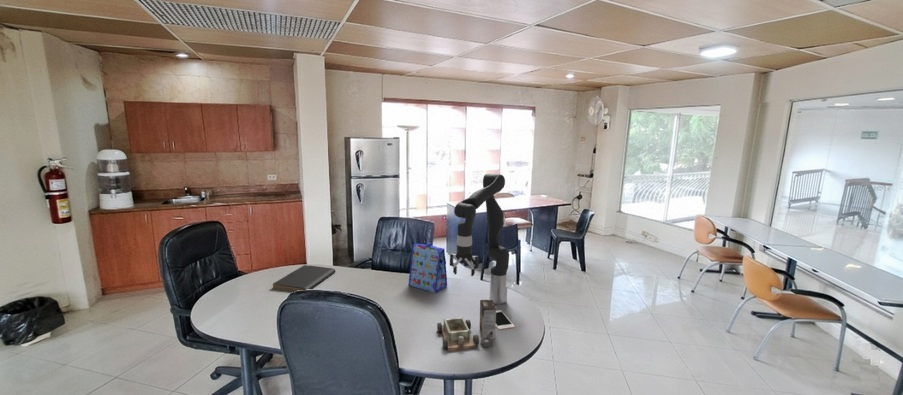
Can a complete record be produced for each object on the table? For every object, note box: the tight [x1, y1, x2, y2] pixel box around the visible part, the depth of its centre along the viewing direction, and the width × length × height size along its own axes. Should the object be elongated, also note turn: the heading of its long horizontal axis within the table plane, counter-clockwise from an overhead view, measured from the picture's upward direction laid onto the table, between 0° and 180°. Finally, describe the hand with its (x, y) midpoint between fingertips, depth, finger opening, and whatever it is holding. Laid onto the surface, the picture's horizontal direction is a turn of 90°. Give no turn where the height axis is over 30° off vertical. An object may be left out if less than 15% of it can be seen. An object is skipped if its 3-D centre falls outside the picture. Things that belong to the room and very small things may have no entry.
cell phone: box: [495, 309, 516, 331], centre depth 194 cm, size 9×18×1 cm, turn 15°
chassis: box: [436, 317, 480, 352], centre depth 176 cm, size 16×20×6 cm
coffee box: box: [479, 299, 497, 340], centre depth 179 cm, size 9×6×16 cm
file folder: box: [272, 264, 336, 292], centre depth 241 cm, size 33×4×24 cm
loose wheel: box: [480, 338, 493, 349], centre depth 171 cm, size 5×5×2 cm
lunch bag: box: [408, 242, 448, 294], centre depth 232 cm, size 22×14×29 cm, turn 58°
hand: (463, 274), depth 184 cm, fingers open, 8 cm apart
